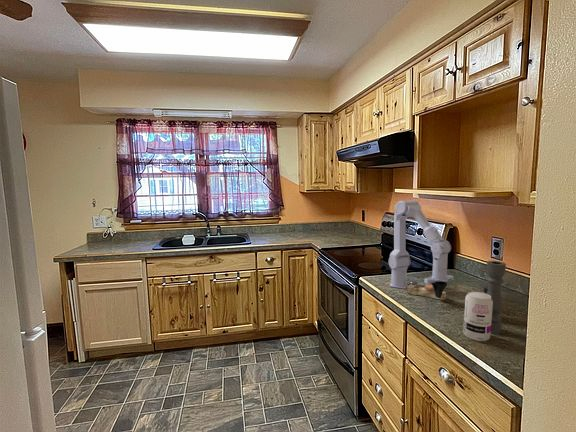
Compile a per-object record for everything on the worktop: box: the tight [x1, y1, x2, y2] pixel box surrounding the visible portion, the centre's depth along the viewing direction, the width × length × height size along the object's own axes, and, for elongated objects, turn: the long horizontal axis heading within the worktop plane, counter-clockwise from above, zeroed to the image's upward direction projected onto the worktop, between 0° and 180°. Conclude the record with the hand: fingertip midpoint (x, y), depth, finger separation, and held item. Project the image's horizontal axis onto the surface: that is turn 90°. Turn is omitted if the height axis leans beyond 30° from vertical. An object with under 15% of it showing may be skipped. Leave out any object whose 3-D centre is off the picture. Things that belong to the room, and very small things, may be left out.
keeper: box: [423, 283, 434, 290], centre depth 151 cm, size 3×6×5 cm, turn 142°
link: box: [406, 283, 447, 301], centre depth 151 cm, size 16×5×3 cm, turn 52°
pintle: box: [409, 280, 418, 288], centre depth 154 cm, size 3×3×6 cm
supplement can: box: [462, 291, 493, 342], centre depth 112 cm, size 8×8×15 cm
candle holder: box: [485, 260, 507, 335], centre depth 116 cm, size 6×6×25 cm
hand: (438, 297), depth 145 cm, fingers closed
